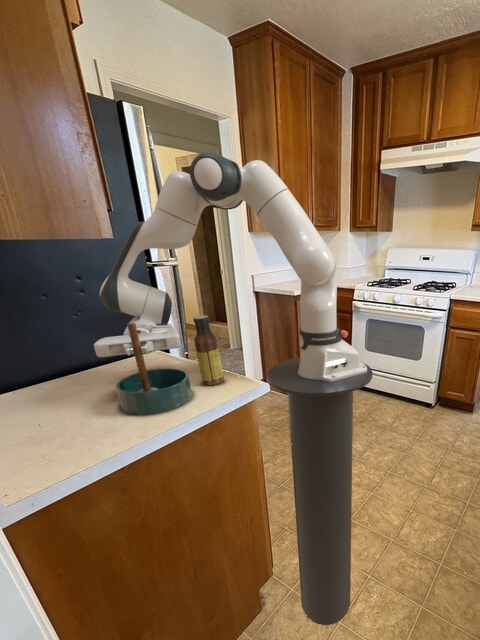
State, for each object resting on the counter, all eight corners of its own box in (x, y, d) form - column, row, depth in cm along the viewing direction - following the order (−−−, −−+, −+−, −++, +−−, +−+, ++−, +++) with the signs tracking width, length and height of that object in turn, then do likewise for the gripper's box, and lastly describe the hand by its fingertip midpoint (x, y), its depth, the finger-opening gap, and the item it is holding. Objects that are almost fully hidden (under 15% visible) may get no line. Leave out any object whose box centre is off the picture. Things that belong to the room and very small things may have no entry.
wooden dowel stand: (159, 390, 96) (143, 320, 89) (158, 397, 92) (142, 324, 84) (138, 393, 94) (120, 322, 87) (136, 401, 90) (117, 327, 82)
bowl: (190, 383, 105) (186, 364, 103) (193, 407, 90) (189, 385, 88) (125, 393, 99) (120, 373, 97) (118, 420, 84) (111, 397, 82)
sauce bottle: (224, 377, 109) (215, 313, 102) (224, 384, 104) (214, 317, 96) (202, 379, 108) (191, 315, 100) (200, 387, 102) (189, 319, 95)
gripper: (96, 331, 94) (85, 344, 83) (177, 323, 101) (178, 334, 90) (102, 353, 97) (92, 369, 85) (181, 344, 104) (182, 357, 92)
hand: (137, 351), depth 87 cm, fingers closed on wooden dowel stand
